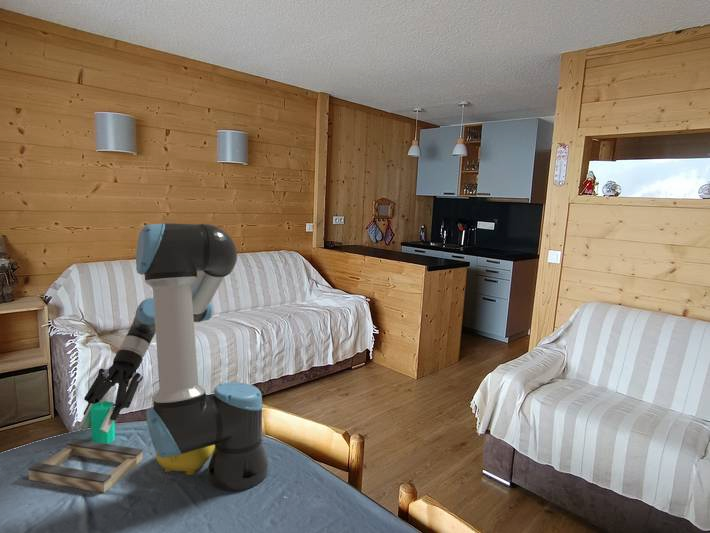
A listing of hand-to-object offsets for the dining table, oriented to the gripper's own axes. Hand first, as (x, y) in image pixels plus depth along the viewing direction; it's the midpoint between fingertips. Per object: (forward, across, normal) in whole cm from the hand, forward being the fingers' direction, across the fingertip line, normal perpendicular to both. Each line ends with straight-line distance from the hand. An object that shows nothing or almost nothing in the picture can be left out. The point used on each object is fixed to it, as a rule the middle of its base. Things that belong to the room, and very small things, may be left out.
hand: (93, 429), depth 123 cm
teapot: (+4, -29, -4) cm, 29 cm away
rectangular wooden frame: (+10, -6, +3) cm, 13 cm away
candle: (+1, 0, -6) cm, 6 cm away
